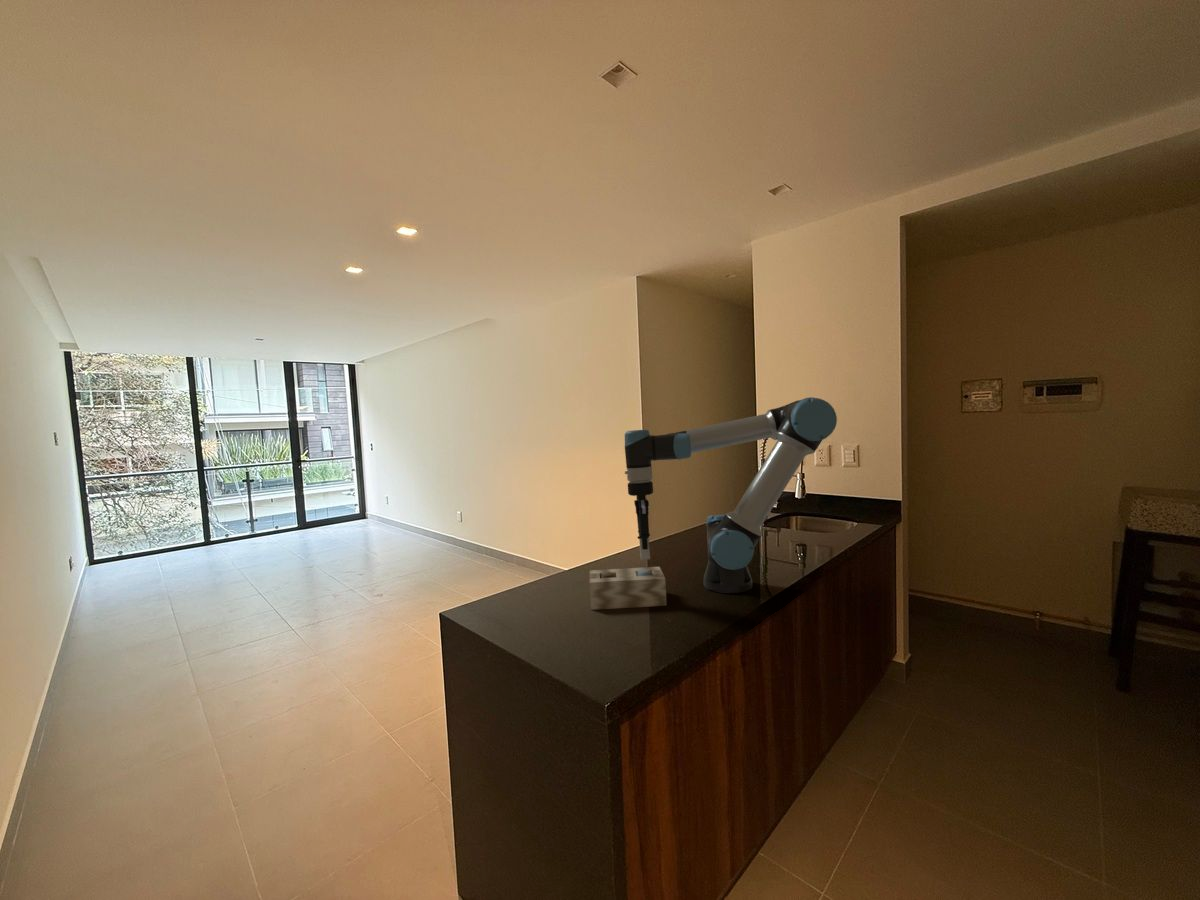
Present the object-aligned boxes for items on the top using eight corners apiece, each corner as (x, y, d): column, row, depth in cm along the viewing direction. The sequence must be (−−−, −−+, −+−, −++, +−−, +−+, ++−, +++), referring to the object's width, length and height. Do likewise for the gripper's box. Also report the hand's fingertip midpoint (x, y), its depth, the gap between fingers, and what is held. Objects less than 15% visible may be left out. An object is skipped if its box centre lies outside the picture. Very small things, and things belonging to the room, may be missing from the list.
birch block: (660, 591, 150) (659, 566, 150) (666, 605, 138) (665, 578, 138) (591, 595, 150) (589, 570, 150) (591, 609, 138) (589, 582, 138)
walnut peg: (615, 597, 146) (614, 571, 146) (616, 602, 142) (614, 575, 142) (602, 598, 146) (601, 572, 146) (602, 603, 142) (601, 576, 142)
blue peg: (651, 595, 146) (649, 569, 146) (652, 599, 142) (651, 573, 142) (638, 596, 146) (636, 570, 146) (639, 600, 142) (638, 574, 142)
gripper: (625, 480, 149) (631, 554, 150) (629, 484, 136) (634, 565, 137) (649, 478, 149) (654, 552, 150) (655, 482, 136) (660, 563, 137)
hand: (645, 558), depth 143 cm, fingers closed
